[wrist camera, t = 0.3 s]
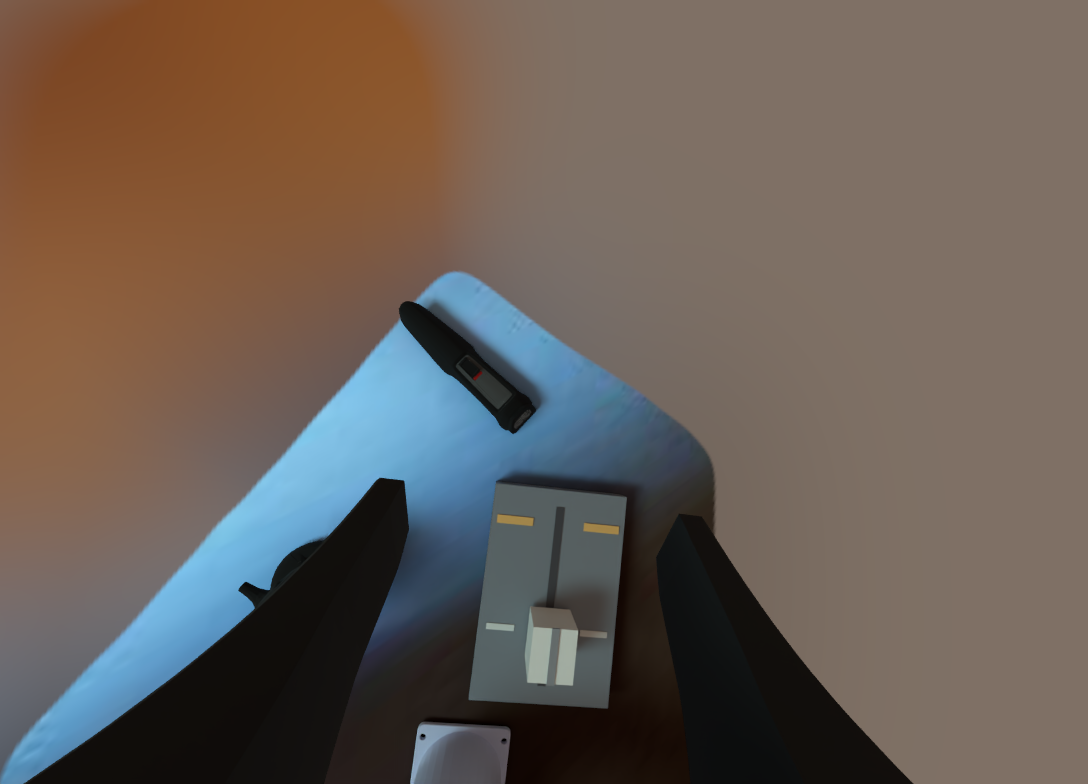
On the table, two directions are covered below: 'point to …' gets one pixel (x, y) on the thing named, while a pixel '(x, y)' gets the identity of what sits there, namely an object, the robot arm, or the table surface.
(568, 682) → the fader
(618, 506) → the console
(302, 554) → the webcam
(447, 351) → the electric trimmer
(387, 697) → the table surface
